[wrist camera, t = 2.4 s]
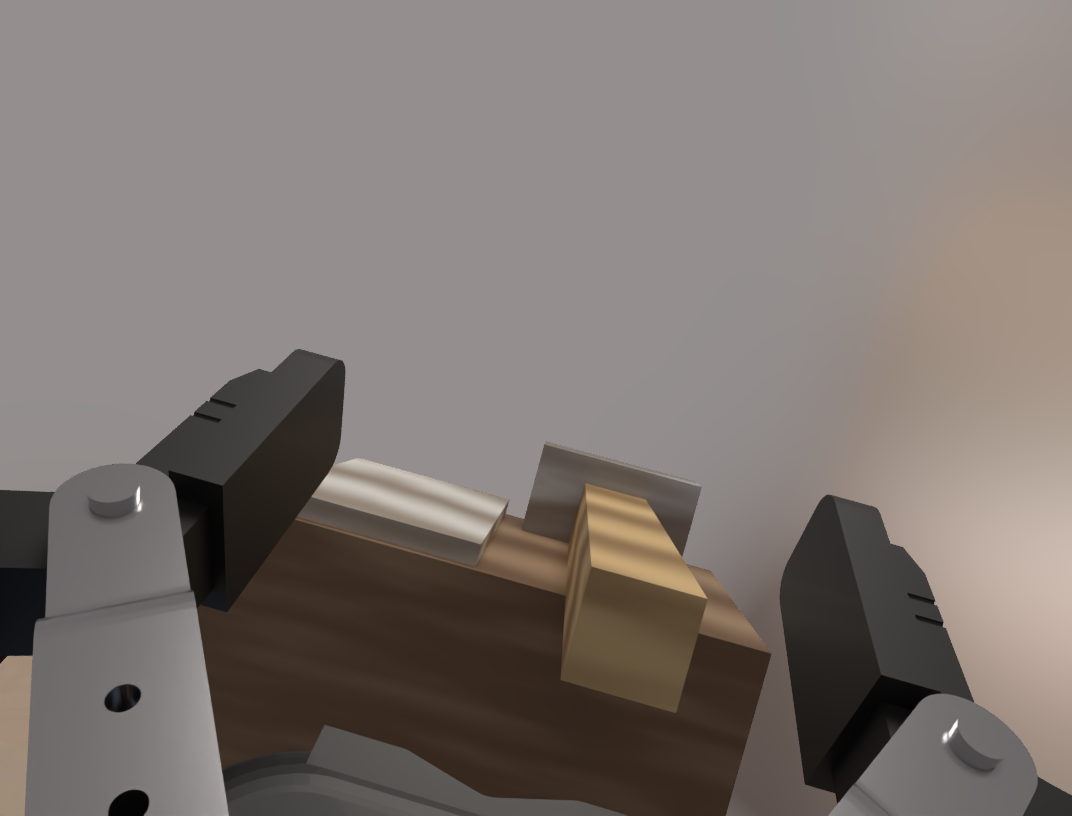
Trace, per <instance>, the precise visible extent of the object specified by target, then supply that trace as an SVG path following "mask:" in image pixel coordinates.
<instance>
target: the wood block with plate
mask: <svg viewBox="0 0 1072 816" xmlns="http://www.w3.org/2000/svg"><path fill="white" fill-rule="evenodd" d="M700 491H701V486H700V485H698V484H697V483H696V482H694V481H691V480H687V479H683V478H679V477H675V476H672V475H668V474H665V473H661V472H657V471H653V470H650V469H646V468H642V467H639V466H635V465H631V464H628V463H624V462H620V461H617V460H613V459H609V458H606V457H602V456H598V455H595V454H591V453H587V452H584V451H580V450H576V449H573V448H569V447H565V446H562V445H558V444H554V443H551V442H546V443H545V444H544V448H543V452H542V456H541V459H540V463H539V467H538V471H537V474H536V478H535V481H534V485H533V489H532V493H531V497H530V500H529V504H528V508H527V511H526V516H525V519H524V522H523V526H522V530H523V531H526V532H530V533H533V534H537V535H541V536H544V537H548V538H551V539H555V540H559V541H562V542H566V543H569V549H568V565H567V582H566V598H565V615H564V632H563V648H562V665H561V680H562V681H566V682H569V683H573V684H576V685H580V686H583V687H587V688H590V689H594V690H597V691H601V692H604V693H608V694H611V695H615V696H618V697H622V698H625V699H628V700H632V701H635V702H639V703H642V704H646V705H649V706H653V707H656V708H660V709H663V710H667V711H670V712H674V713H676V711H677V708H678V704H679V701H680V697H681V693H682V690H683V686H684V683H685V679H686V676H687V672H688V668H689V665H690V661H691V658H692V654H693V650H694V647H695V643H696V640H697V636H698V633H699V629H700V625H701V622H702V618H703V615H704V611H705V608H706V604H707V600H708V598H707V597H706V595H705V594H704V592H703V590H702V589H701V587H700V586H699V584H698V582H697V581H696V579H695V577H694V576H693V574H692V573H691V571H690V569H689V568H688V566H687V565H686V563H685V561H684V560H683V558H682V556H683V552H684V549H685V545H686V542H687V538H688V534H689V531H690V527H691V524H692V520H693V516H694V513H695V509H696V505H697V502H698V498H699V495H700Z"/></svg>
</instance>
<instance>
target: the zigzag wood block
mask: <svg viewBox="0 0 1072 816" xmlns="http://www.w3.org/2000/svg"><path fill="white" fill-rule="evenodd" d="M508 502H509V499H505V498H502V497H498V496H495V495H491V494H487V493H483V492H480V491H477V490H473V489H469V488H466V487H462V486H458V485H455V484H451V483H447V482H444V481H440V480H437V479H433V478H429V477H426V476H422V475H419V474H415V473H411V472H408V471H404V470H400V469H396V468H393V467H390V466H386V465H382V464H379V463H375V462H371V461H367V460H364V459H361V458H357V459H354V460H350V461H347V462H344V463H341V464H337V465H334V466H332V468H331V470H330V471H329V473H328V475H327V476H326V477H325V479H324V480H323V481H322V483H321V484H320V486H319V487H318V488H317V490H316V491H315V492H314V494H313V495H312V497H311V498H310V499H309V501H308V502H307V503H306V505H305V506H304V507H303V509H302V510H301V512H300V513H299V514H298V516H297V517H296V518H295V520H294V521H293V523H292V524H291V525H290V527H289V528H288V529H287V531H286V532H285V534H284V535H283V536H282V538H281V539H280V540H279V542H278V543H277V545H276V546H275V547H274V549H273V550H272V551H271V553H270V554H269V556H268V557H267V558H266V560H265V561H264V562H263V564H262V565H261V567H260V568H259V569H258V571H257V572H256V573H255V575H254V576H253V578H252V579H251V580H250V582H249V583H248V584H247V586H246V587H245V589H244V590H243V591H242V593H241V594H240V595H239V597H238V598H237V600H236V601H235V602H234V604H233V605H232V606H231V608H230V609H229V610H228V612H223V611H220V610H216V609H213V608H209V607H206V606H203V605H200V606H199V607H198V608H197V614H198V621H199V627H200V633H201V640H202V646H203V653H204V659H205V665H206V672H207V678H208V685H209V691H210V697H211V704H212V710H213V717H214V723H215V729H216V736H217V742H218V749H219V755H220V761H221V768H225V767H227V766H229V765H231V764H234V763H237V762H241V761H244V760H247V759H250V758H253V757H257V756H262V755H267V754H272V753H278V752H289V751H312V750H313V748H314V746H315V744H316V741H317V739H318V737H319V735H320V733H321V731H322V729H323V727H324V725H327V726H330V727H334V728H337V729H340V730H344V731H347V732H350V733H354V734H357V735H360V736H364V737H367V738H370V739H374V740H377V741H380V742H384V743H387V744H390V745H394V746H397V747H400V748H404V749H407V750H408V751H410V752H412V753H413V754H415V755H417V756H418V757H420V758H422V759H423V760H425V761H427V762H428V763H430V764H432V765H433V766H435V767H437V768H438V769H440V770H441V771H443V772H445V773H446V774H448V775H450V776H451V777H453V778H455V779H456V780H458V781H460V782H461V783H463V784H465V785H466V786H468V787H470V788H471V789H473V790H475V791H476V792H478V793H480V794H482V795H485V796H488V797H494V798H517V799H546V800H574V801H581V802H585V803H588V804H591V805H595V806H598V807H601V808H605V809H608V810H611V811H615V812H618V813H621V814H625V815H628V816H725V815H726V813H727V809H728V805H729V801H730V798H731V795H732V791H733V788H734V784H735V780H736V777H737V774H738V770H739V767H740V763H741V760H742V756H743V752H744V749H745V745H746V742H747V738H748V735H749V731H750V728H751V724H752V721H753V717H754V714H755V710H756V707H757V703H758V699H759V696H760V692H761V689H762V685H763V681H764V678H765V675H766V671H767V668H768V664H769V660H770V657H771V652H770V651H769V650H768V648H767V647H766V646H765V644H764V643H763V641H762V640H761V639H760V637H759V636H758V635H757V633H756V632H755V631H754V629H753V628H752V627H751V625H750V624H749V622H748V621H747V620H746V618H745V617H744V616H743V614H742V613H741V612H740V610H739V609H738V607H737V606H736V605H735V603H734V602H733V601H732V599H731V598H730V597H729V595H728V594H727V593H726V591H725V590H724V588H723V587H722V586H721V584H720V583H719V582H718V580H717V579H716V578H715V576H714V575H713V573H712V572H711V571H709V570H705V569H702V568H698V567H695V566H691V565H688V564H686V565H687V566H688V568H689V569H690V571H691V573H692V574H693V576H694V577H695V579H696V581H697V582H698V584H699V586H700V587H701V589H702V590H703V592H704V594H705V595H706V597H707V598H708V600H707V604H706V608H705V611H704V615H703V618H702V622H701V625H700V629H699V633H698V636H697V640H696V643H695V647H694V650H693V654H692V658H691V661H690V665H689V668H688V672H687V676H686V679H685V683H684V686H683V690H682V693H681V697H680V701H679V704H678V708H677V711H676V713H674V712H670V711H667V710H663V709H660V708H656V707H653V706H649V705H646V704H642V703H639V702H635V701H632V700H628V699H625V698H622V697H618V696H615V695H611V694H608V693H604V692H601V691H597V690H594V689H590V688H587V687H583V686H580V685H576V684H573V683H569V682H566V681H562V680H561V665H562V648H563V632H564V615H565V598H566V582H567V565H568V549H569V543H566V542H562V541H559V540H555V539H551V538H548V537H544V536H541V535H537V534H533V533H530V532H526V531H523V530H522V526H523V522H524V519H522V518H518V517H514V516H511V515H507V514H506V510H507V506H508Z"/></svg>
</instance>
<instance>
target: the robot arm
mask: <svg viewBox="0 0 1072 816" xmlns="http://www.w3.org/2000/svg"><path fill="white" fill-rule="evenodd" d="M344 386H345V365H344V363H343V361H341V360H338V359H334V358H330V357H327V356H323V355H319V354H316V353H312V352H308V351H305V350H301V349H297V350H295V351H294V352H292V353H291V354H290V355H289V356H288V357H287V358H286V359H285V360H284V361H283V362H282V363H281V364H280V365H279V366H278V367H277V368H276V369H275V370H273V371H272V372H268V371H264V370H261V369H258V370H255V371H253V372H250V373H248V374H245V375H243V376H240V377H238V378H235V379H233V380H230V381H229V382H228V383H227V384H225V385H224V386H223V387H222V388H221V389H220V390H219V391H218V392H216V393H215V394H214V395H213V396H212V397H211V398H210V401H209V402H208V401H206V402H205V403H204V404H203V405H202V406H201V407H199V408H198V409H197V410H196V411H195V413H194V415H193V416H191V415H190V416H189V417H188V418H187V419H186V420H185V421H184V422H182V423H181V424H180V425H179V426H178V427H177V428H176V429H174V430H173V431H172V432H171V433H170V434H169V435H168V436H167V437H166V438H164V439H163V440H162V441H161V442H160V443H159V444H157V445H156V446H155V447H154V448H153V449H152V450H151V451H150V452H148V453H147V454H146V455H145V456H144V457H143V458H142V459H140V460H139V461H138V462H137V463H136V464H112V465H106V466H100V467H97V468H92V469H90V470H87V471H84V472H82V473H79V474H77V475H75V476H73V477H72V478H70V479H69V480H67V481H66V482H64V483H63V484H62V485H61V486H60V487H59V488H58V489H57V490H56V492H34V491H10V490H0V663H1V662H2V661H3V660H4V659H5V658H6V657H7V656H33V660H32V681H31V701H30V721H29V741H28V761H27V781H26V801H25V816H628V815H625V814H621V813H618V812H615V811H611V810H608V809H605V808H601V807H598V806H595V805H591V804H588V803H585V802H581V801H574V800H546V799H517V798H494V797H488V796H485V795H482V794H480V793H478V792H476V791H475V790H473V789H471V788H470V787H468V786H466V785H465V784H463V783H461V782H460V781H458V780H456V779H455V778H453V777H451V776H450V775H448V774H446V773H445V772H443V771H441V770H440V769H438V768H437V767H435V766H433V765H432V764H430V763H428V762H427V761H425V760H423V759H422V758H420V757H418V756H417V755H415V754H413V753H412V752H410V751H408V750H407V749H404V748H400V747H397V746H394V745H390V744H387V743H384V742H380V741H377V740H374V739H370V738H367V737H364V736H360V735H357V734H354V733H350V732H347V731H344V730H340V729H337V728H334V727H330V726H327V725H324V727H323V729H322V731H321V733H320V735H319V737H318V739H317V741H316V744H315V746H314V748H313V750H312V751H289V752H278V753H272V754H267V755H262V756H257V757H253V758H250V759H247V760H244V761H241V762H237V763H234V764H231V765H229V766H227V767H225V768H221V761H220V755H219V749H218V742H217V736H216V729H215V723H214V717H213V710H212V704H211V697H210V691H209V685H208V678H207V672H206V665H205V659H204V653H203V646H202V640H201V633H200V627H199V621H198V614H197V608H198V607H199V606H200V605H203V606H206V607H209V608H213V609H216V610H220V611H223V612H228V610H229V609H230V608H231V606H232V605H233V604H234V602H235V601H236V600H237V598H238V597H239V595H240V594H241V593H242V591H243V590H244V589H245V587H246V586H247V584H248V583H249V582H250V580H251V579H252V578H253V576H254V575H255V573H256V572H257V571H258V569H259V568H260V567H261V565H262V564H263V562H264V561H265V560H266V558H267V557H268V556H269V554H270V553H271V551H272V550H273V549H274V547H275V546H276V545H277V543H278V542H279V540H280V539H281V538H282V536H283V535H284V534H285V532H286V531H287V529H288V528H289V527H290V525H291V524H292V523H293V521H294V520H295V518H296V517H297V516H298V514H299V513H300V512H301V510H302V509H303V507H304V506H305V505H306V503H307V502H308V501H309V499H310V498H311V497H312V495H313V494H314V492H315V491H316V490H317V488H318V487H319V486H320V484H321V483H322V481H323V480H324V479H325V477H326V476H327V475H328V473H329V471H330V470H331V468H332V466H333V463H334V461H335V459H336V456H337V453H338V449H339V445H340V439H341V427H342V413H343V400H344ZM934 602H935V599H934V596H933V594H932V591H931V588H930V586H929V583H928V581H927V578H926V575H925V573H924V572H923V571H922V570H921V569H920V567H919V566H918V565H917V564H916V563H915V561H914V560H913V559H912V558H911V556H910V555H909V554H908V553H907V552H906V551H905V549H904V548H903V547H900V546H896V545H893V544H890V541H889V538H888V536H887V532H886V529H885V527H884V524H883V521H882V518H881V515H880V513H879V511H878V509H877V508H875V507H873V506H869V505H865V504H862V503H858V502H854V501H851V500H847V499H843V498H840V497H836V496H832V495H826V496H825V497H823V499H822V500H821V501H820V502H819V504H818V506H817V507H816V509H815V511H814V513H813V515H812V517H811V519H810V521H809V523H808V524H807V526H806V528H805V530H804V532H803V534H802V536H801V538H800V540H799V542H798V544H797V545H796V547H795V549H794V551H793V553H792V555H791V557H790V559H789V561H788V563H787V565H786V567H785V570H784V573H783V577H782V581H781V588H780V605H781V613H782V620H783V628H784V635H785V643H786V650H787V657H788V665H789V672H790V679H791V686H792V693H793V701H794V708H795V715H796V723H797V730H798V737H799V744H800V752H801V759H802V767H803V774H804V781H805V785H809V786H812V787H816V788H819V789H822V790H826V791H829V792H833V793H836V799H837V806H836V807H835V808H834V809H833V811H832V812H831V813H830V814H829V816H1072V795H1070V794H1068V793H1066V792H1064V791H1062V790H1061V789H1059V788H1057V787H1055V786H1053V785H1051V784H1049V783H1048V782H1046V781H1044V780H1043V779H1041V778H1039V777H1038V776H1037V771H1036V767H1035V765H1034V762H1033V760H1032V758H1031V756H1030V754H1029V752H1028V750H1027V749H1026V747H1025V746H1024V745H1023V743H1022V742H1021V740H1020V739H1019V738H1018V737H1017V736H1016V735H1015V733H1014V732H1013V731H1012V730H1011V729H1010V728H1009V727H1008V726H1007V725H1006V724H1004V723H1003V722H1002V721H1001V720H1000V719H998V718H997V717H996V716H995V715H993V714H992V713H990V712H989V711H987V710H986V709H985V708H983V707H981V706H979V705H977V704H976V703H974V700H973V698H972V695H971V693H970V690H969V687H968V685H967V682H966V680H965V677H964V675H963V672H962V669H961V667H960V664H959V661H958V659H957V656H956V654H955V651H954V648H953V646H952V643H951V640H950V638H949V635H948V633H947V630H946V628H943V620H942V617H941V614H940V612H939V609H938V607H937V606H936V605H934Z"/></svg>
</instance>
